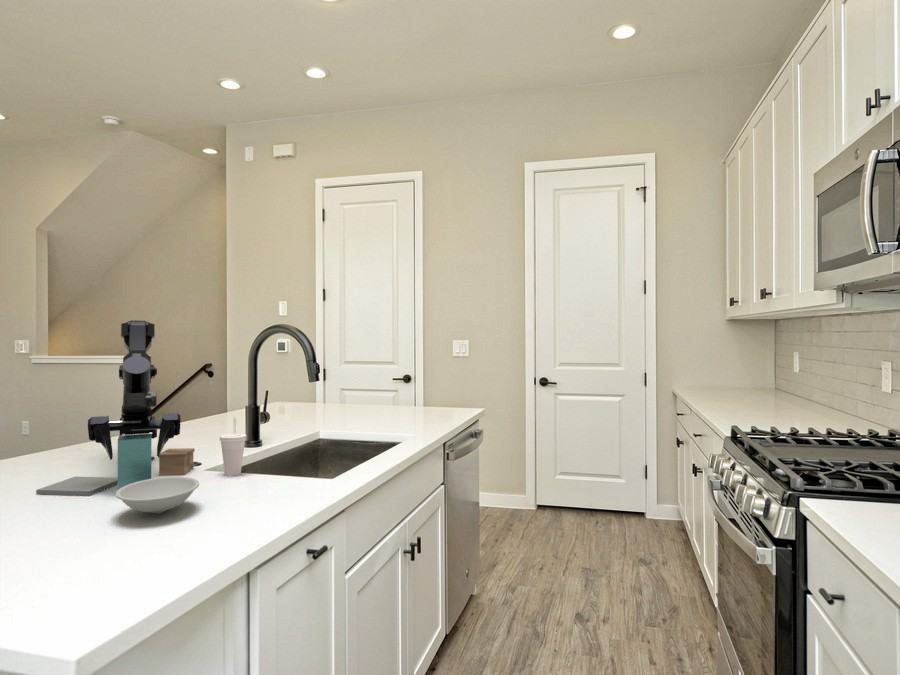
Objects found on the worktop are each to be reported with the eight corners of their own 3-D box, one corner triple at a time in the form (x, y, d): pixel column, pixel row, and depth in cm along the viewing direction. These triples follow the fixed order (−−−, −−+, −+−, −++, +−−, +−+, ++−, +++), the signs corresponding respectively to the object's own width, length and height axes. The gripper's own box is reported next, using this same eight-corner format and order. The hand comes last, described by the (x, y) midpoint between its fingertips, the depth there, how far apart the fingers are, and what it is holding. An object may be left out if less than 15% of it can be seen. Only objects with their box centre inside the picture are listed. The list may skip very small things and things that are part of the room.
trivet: (74, 480, 140) (74, 476, 140) (123, 482, 139) (123, 477, 139) (36, 494, 128) (36, 489, 128) (89, 495, 127) (89, 491, 127)
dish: (137, 501, 124) (137, 477, 124) (209, 499, 126) (209, 475, 126) (99, 528, 106) (99, 501, 106) (183, 525, 108) (183, 498, 108)
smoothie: (251, 472, 150) (252, 417, 149) (232, 478, 144) (233, 420, 144) (232, 470, 152) (233, 415, 152) (213, 475, 146) (213, 419, 146)
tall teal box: (118, 488, 133) (119, 435, 133) (151, 485, 136) (151, 433, 136) (117, 495, 128) (117, 440, 127) (151, 492, 130) (151, 438, 130)
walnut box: (168, 468, 153) (168, 448, 153) (194, 468, 154) (194, 448, 154) (157, 475, 146) (158, 454, 146) (185, 475, 147) (185, 454, 147)
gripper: (88, 381, 132) (83, 437, 122) (180, 378, 140) (182, 431, 131) (91, 412, 139) (86, 468, 129) (178, 408, 148) (180, 460, 138)
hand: (134, 456), depth 132 cm, fingers open, 9 cm apart
